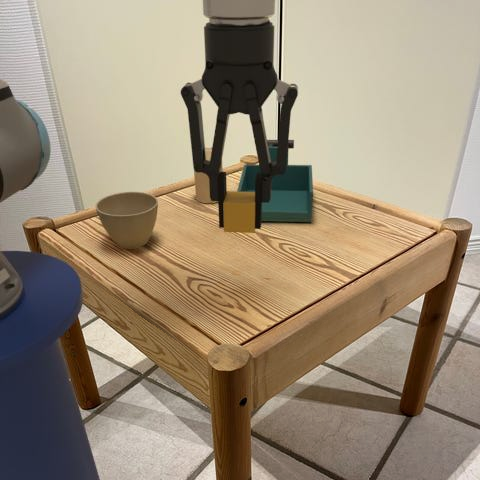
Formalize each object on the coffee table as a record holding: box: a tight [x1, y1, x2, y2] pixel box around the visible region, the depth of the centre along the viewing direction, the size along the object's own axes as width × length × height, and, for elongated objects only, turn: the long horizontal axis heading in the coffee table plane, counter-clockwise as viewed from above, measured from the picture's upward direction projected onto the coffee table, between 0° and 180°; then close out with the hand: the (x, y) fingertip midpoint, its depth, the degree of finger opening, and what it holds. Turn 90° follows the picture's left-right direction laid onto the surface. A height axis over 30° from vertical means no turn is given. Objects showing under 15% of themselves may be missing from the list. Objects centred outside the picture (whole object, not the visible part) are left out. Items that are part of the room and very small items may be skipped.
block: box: [223, 190, 256, 234], centre depth 67 cm, size 4×4×4 cm
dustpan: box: [236, 139, 314, 223], centre depth 97 cm, size 18×13×10 cm
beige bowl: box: [95, 191, 159, 250], centre depth 85 cm, size 10×10×7 cm
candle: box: [193, 147, 224, 204], centre depth 100 cm, size 6×6×10 cm
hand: (240, 223), depth 68 cm, fingers closed on block, 4 cm apart
